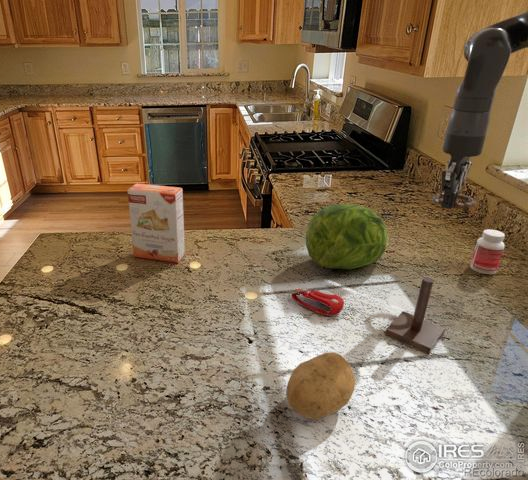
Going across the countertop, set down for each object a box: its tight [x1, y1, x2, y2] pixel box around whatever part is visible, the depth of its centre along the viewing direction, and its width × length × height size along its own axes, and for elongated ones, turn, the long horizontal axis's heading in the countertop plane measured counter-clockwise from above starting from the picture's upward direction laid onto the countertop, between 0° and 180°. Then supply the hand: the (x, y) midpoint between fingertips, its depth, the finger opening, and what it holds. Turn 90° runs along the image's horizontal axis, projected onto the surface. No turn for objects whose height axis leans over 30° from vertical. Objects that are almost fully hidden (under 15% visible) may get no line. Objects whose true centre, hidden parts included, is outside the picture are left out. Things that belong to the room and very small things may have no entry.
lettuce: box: [305, 203, 389, 270], centre depth 115 cm, size 18×23×19 cm
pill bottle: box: [469, 228, 506, 275], centre depth 112 cm, size 6×6×11 cm
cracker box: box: [127, 182, 186, 264], centre depth 119 cm, size 14×6×21 cm, turn 73°
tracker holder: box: [288, 288, 345, 316], centre depth 99 cm, size 12×4×10 cm
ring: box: [432, 192, 477, 210], centre depth 101 cm, size 9×9×1 cm
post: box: [384, 276, 446, 355], centre depth 87 cm, size 9×9×14 cm
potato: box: [285, 351, 356, 420], centre depth 71 cm, size 10×14×8 cm
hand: (448, 206), depth 99 cm, fingers closed on ring, 1 cm apart
